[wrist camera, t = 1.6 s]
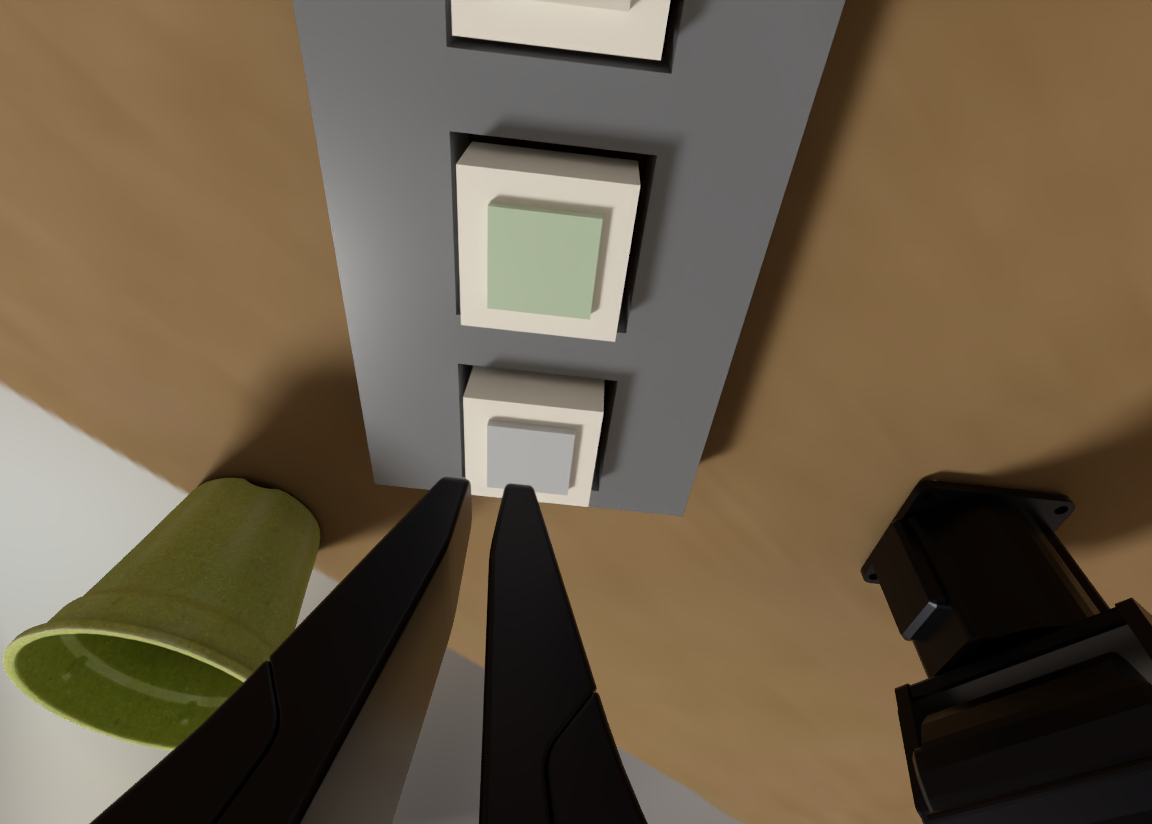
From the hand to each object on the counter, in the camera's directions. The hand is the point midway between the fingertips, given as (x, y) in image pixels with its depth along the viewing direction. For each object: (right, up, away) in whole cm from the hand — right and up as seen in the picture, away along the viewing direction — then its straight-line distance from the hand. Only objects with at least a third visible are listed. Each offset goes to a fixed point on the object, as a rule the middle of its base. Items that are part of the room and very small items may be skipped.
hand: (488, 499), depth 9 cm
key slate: (0, +1, +12) cm, 13 cm away
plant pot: (-14, -4, +20) cm, 24 cm away
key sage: (+1, +7, +8) cm, 10 cm away
